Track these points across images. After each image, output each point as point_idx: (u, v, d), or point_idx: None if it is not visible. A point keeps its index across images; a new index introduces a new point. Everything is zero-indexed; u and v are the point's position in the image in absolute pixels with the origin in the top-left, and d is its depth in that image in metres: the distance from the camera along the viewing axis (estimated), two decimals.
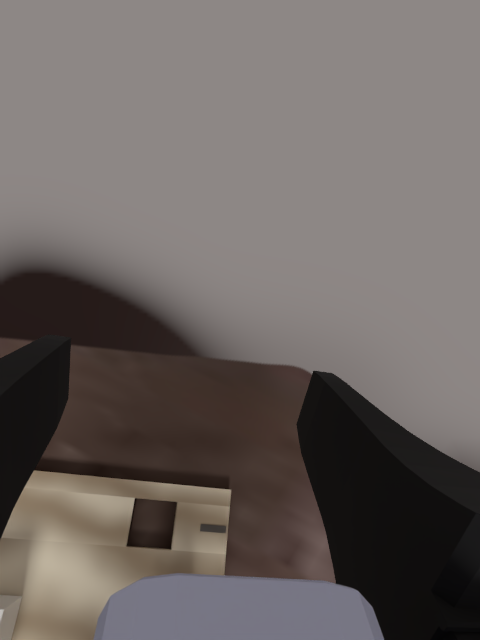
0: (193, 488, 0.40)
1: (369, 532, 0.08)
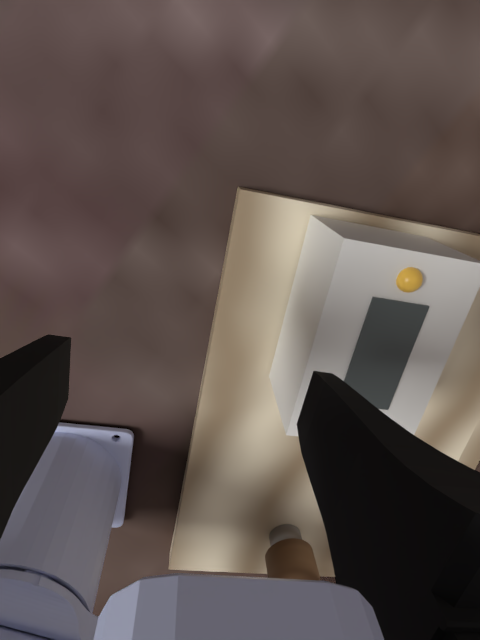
0: None
1: (369, 532, 0.08)
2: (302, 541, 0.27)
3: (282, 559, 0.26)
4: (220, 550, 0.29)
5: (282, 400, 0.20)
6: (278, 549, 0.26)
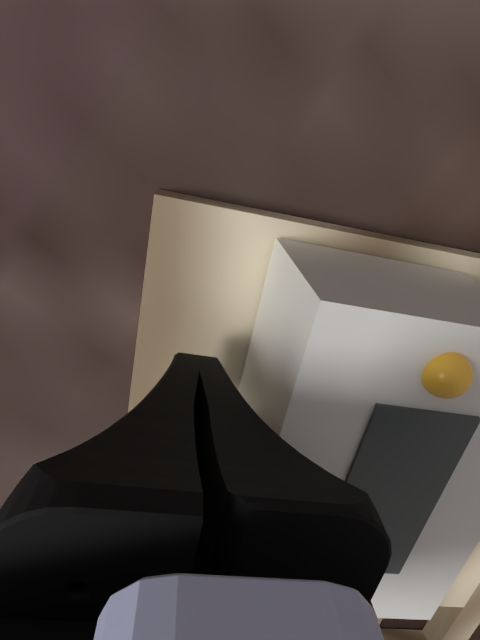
0: None
1: None
2: None
3: None
4: None
5: None
6: None
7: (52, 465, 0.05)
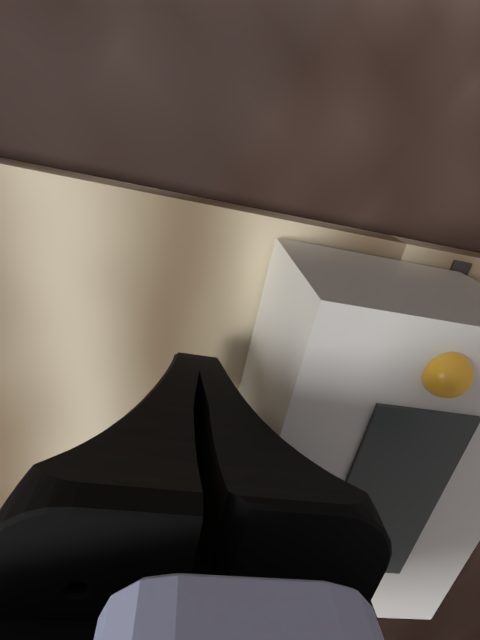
0: None
1: None
2: None
3: None
4: None
5: None
6: None
7: (53, 465, 0.05)
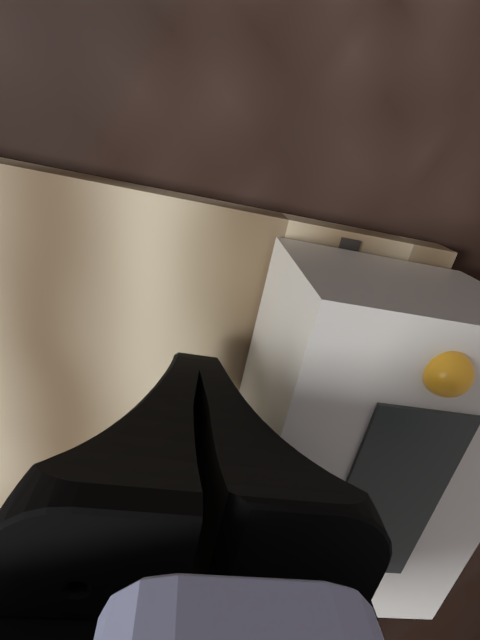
0: None
1: None
2: None
3: None
4: None
5: None
6: None
7: (52, 465, 0.05)
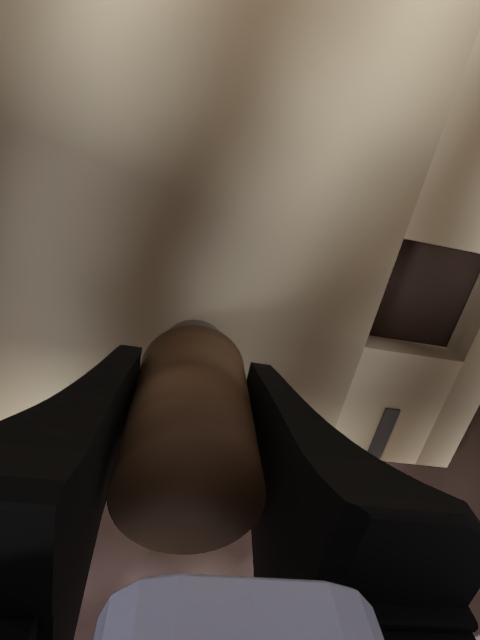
0: (479, 395, 0.16)
1: (277, 525, 0.08)
2: (217, 332, 0.12)
3: (162, 351, 0.11)
4: (64, 377, 0.14)
5: None
6: (161, 340, 0.12)
7: None
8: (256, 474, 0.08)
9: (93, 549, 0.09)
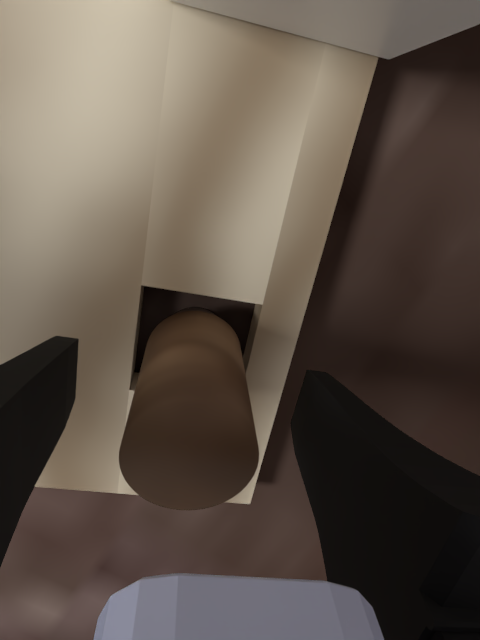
0: (265, 435, 0.16)
1: (360, 531, 0.08)
2: (217, 317, 0.13)
3: (167, 333, 0.12)
4: None
5: None
6: (165, 324, 0.13)
7: None
8: (250, 435, 0.09)
9: (8, 544, 0.09)
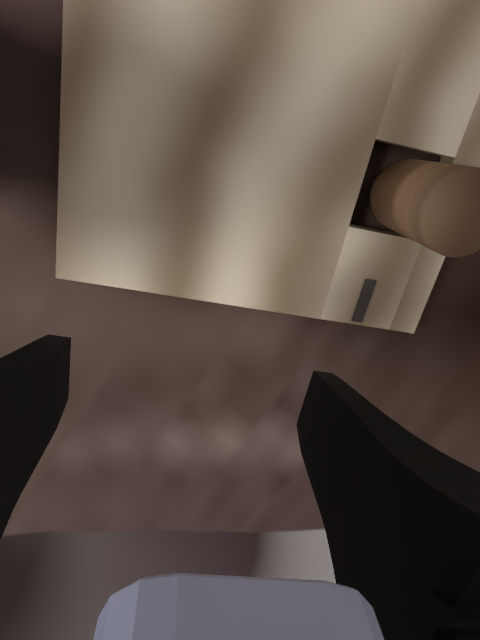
0: (436, 270, 0.22)
1: (369, 532, 0.08)
2: None
3: (406, 164, 0.18)
4: (129, 245, 0.20)
5: None
6: (396, 164, 0.18)
7: None
8: None
9: None
